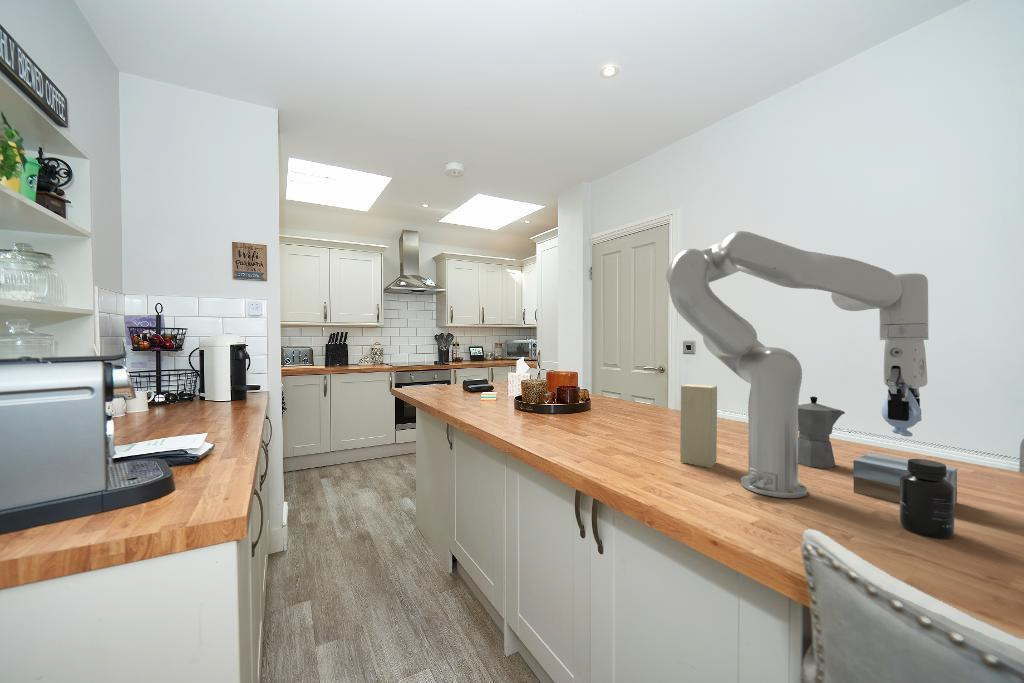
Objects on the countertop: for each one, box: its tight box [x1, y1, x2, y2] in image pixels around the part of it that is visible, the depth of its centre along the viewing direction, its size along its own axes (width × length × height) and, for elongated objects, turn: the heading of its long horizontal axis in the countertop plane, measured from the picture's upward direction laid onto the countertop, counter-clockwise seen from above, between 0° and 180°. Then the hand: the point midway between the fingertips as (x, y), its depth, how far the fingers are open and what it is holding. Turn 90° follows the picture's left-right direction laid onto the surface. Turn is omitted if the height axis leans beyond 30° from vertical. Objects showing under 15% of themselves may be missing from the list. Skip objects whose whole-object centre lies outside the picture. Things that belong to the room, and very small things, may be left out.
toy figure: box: [880, 385, 922, 438], centre depth 89 cm, size 11×6×12 cm, turn 170°
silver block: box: [853, 452, 958, 505], centre depth 88 cm, size 10×14×7 cm
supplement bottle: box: [899, 458, 956, 540], centre depth 73 cm, size 7×7×12 cm
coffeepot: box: [798, 396, 846, 469], centre depth 113 cm, size 15×9×18 cm, turn 44°
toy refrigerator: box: [679, 383, 718, 468], centre depth 114 cm, size 8×7×21 cm
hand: (904, 417), depth 88 cm, fingers closed on toy figure, 6 cm apart
